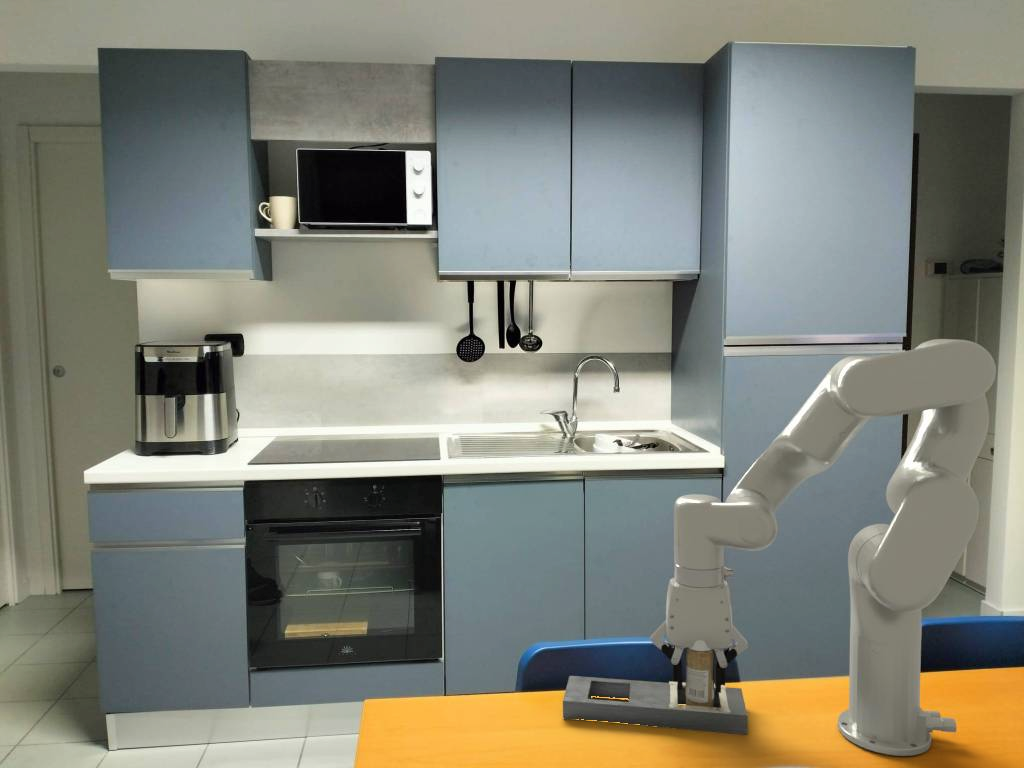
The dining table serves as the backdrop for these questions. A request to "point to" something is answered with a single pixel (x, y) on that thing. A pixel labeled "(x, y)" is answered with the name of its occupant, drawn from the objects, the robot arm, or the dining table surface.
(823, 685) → the dining table surface
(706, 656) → the sprinkles bottle
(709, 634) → the robot arm
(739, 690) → the rail
